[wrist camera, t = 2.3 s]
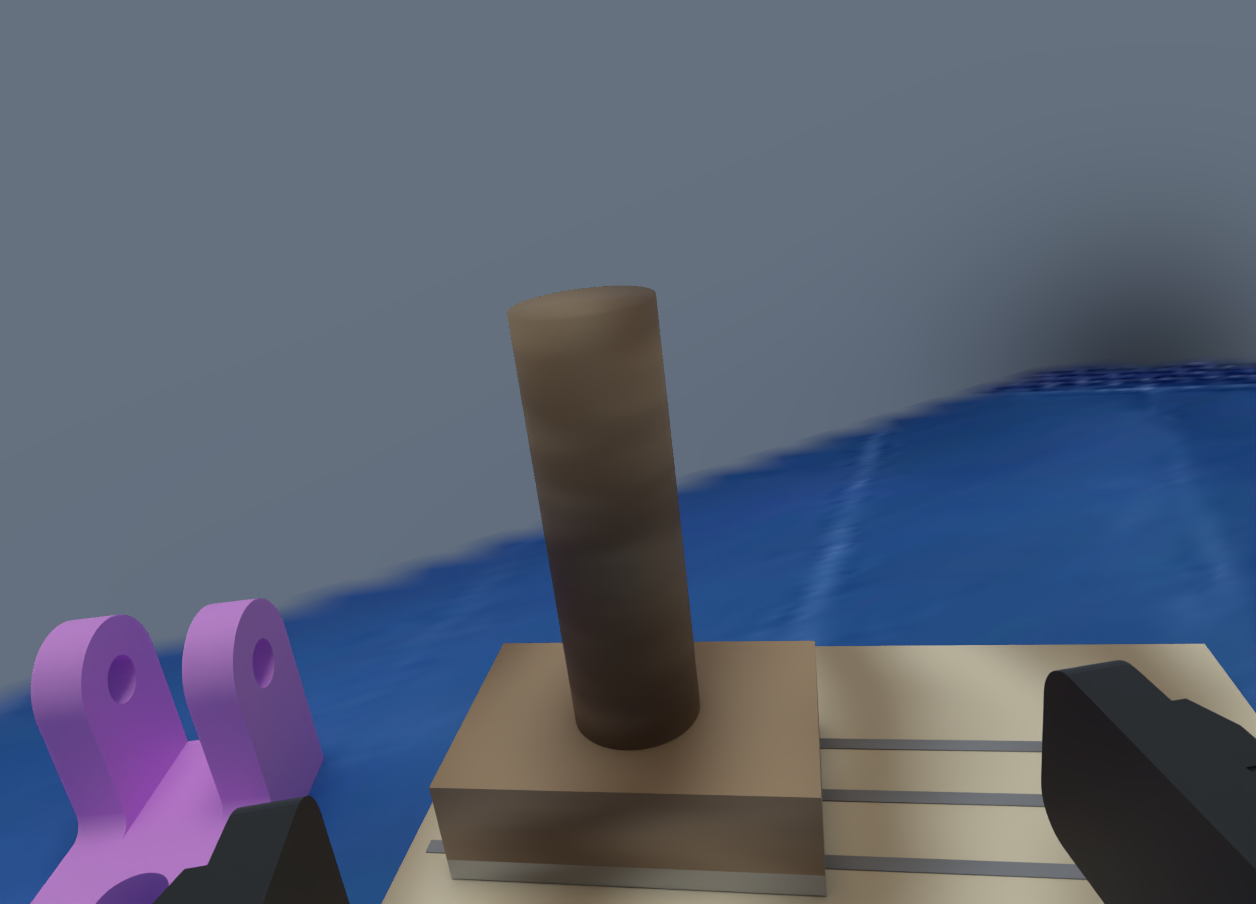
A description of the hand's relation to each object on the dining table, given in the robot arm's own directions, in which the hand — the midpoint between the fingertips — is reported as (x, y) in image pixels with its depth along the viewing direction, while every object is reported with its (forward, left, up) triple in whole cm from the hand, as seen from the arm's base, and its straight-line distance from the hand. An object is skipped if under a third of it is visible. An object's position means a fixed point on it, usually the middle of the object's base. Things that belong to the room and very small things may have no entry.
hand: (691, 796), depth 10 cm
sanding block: (-3, +11, -10) cm, 15 cm away
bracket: (-16, +7, -12) cm, 21 cm away
